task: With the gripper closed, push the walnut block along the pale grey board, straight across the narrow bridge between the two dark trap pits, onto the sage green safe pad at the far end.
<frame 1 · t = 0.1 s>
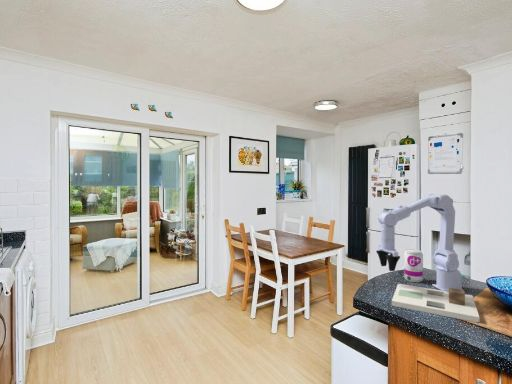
hand: (387, 268, 132), 10 cm above the countertop, tool pointing down, fingers open, 7 cm apart
walnut block: (456, 302, 114), point 2 cm above the countertop, touching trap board
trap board: (435, 303, 117), on the countertop
supplement can: (413, 280, 146), on the countertop
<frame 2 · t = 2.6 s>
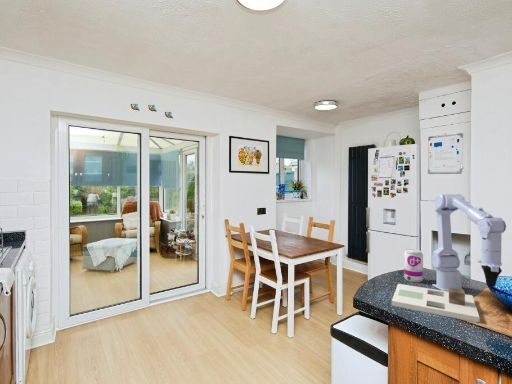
hand: (490, 285, 108), 10 cm above the countertop, tool pointing down, fingers closed
nothing on the countertop moved.
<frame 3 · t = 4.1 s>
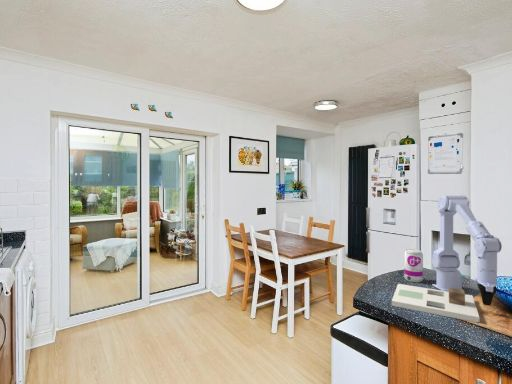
hand: (486, 304, 109), 3 cm above the countertop, tool pointing down, fingers closed
nothing on the countertop moved.
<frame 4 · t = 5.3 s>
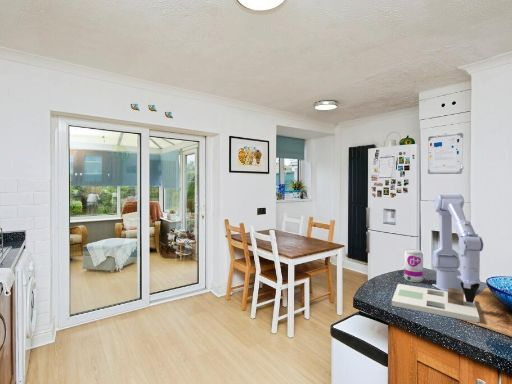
hand: (469, 301, 111), 3 cm above the countertop, tool pointing down, fingers closed
walnut block: (455, 301, 114), point 2 cm above the countertop, touching gripper
everything else where it was.
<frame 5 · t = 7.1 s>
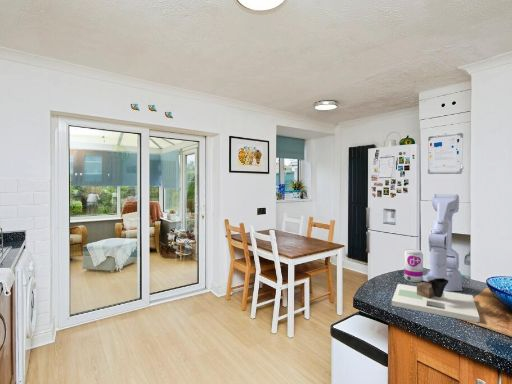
hand: (437, 296, 117), 3 cm above the countertop, tool pointing down, fingers closed
walnut block: (426, 295, 121), point 2 cm above the countertop, touching gripper
everything else where it was.
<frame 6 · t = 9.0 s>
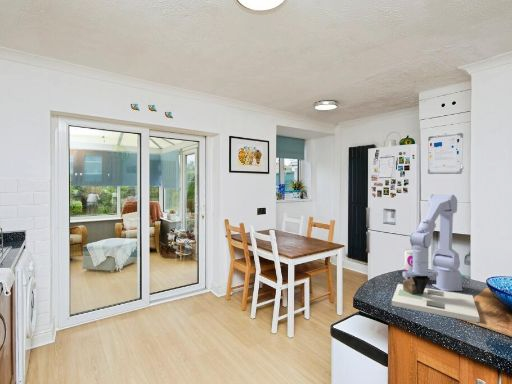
hand: (420, 293, 120), 3 cm above the countertop, tool pointing down, fingers closed
walnut block: (412, 291, 125), point 2 cm above the countertop, touching gripper, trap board
everything else where it was.
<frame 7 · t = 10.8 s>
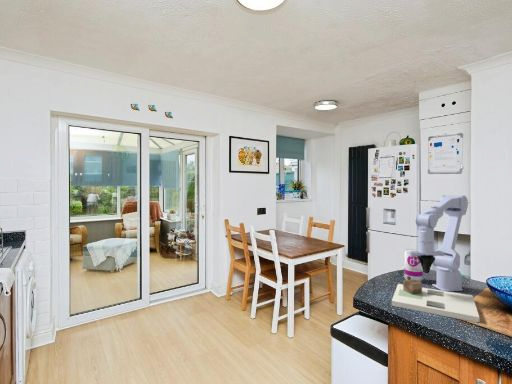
hand: (426, 272, 125), 10 cm above the countertop, tool pointing down, fingers closed
walnut block: (412, 291, 125), point 2 cm above the countertop, touching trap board
everything else where it was.
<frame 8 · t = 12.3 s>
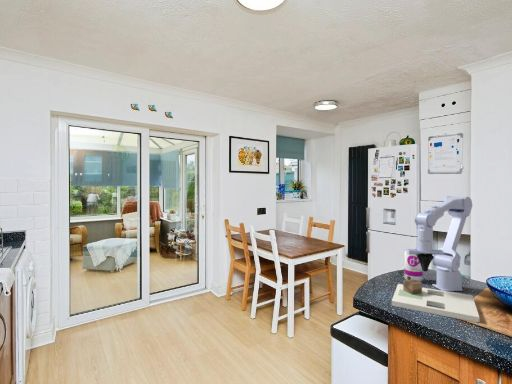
hand: (424, 270, 127), 10 cm above the countertop, tool pointing down, fingers closed
nothing on the countertop moved.
at the end: walnut block 3.5 cm from the target spot on the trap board, point 2.0 cm above the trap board's base; walnut block tilted 0° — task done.
